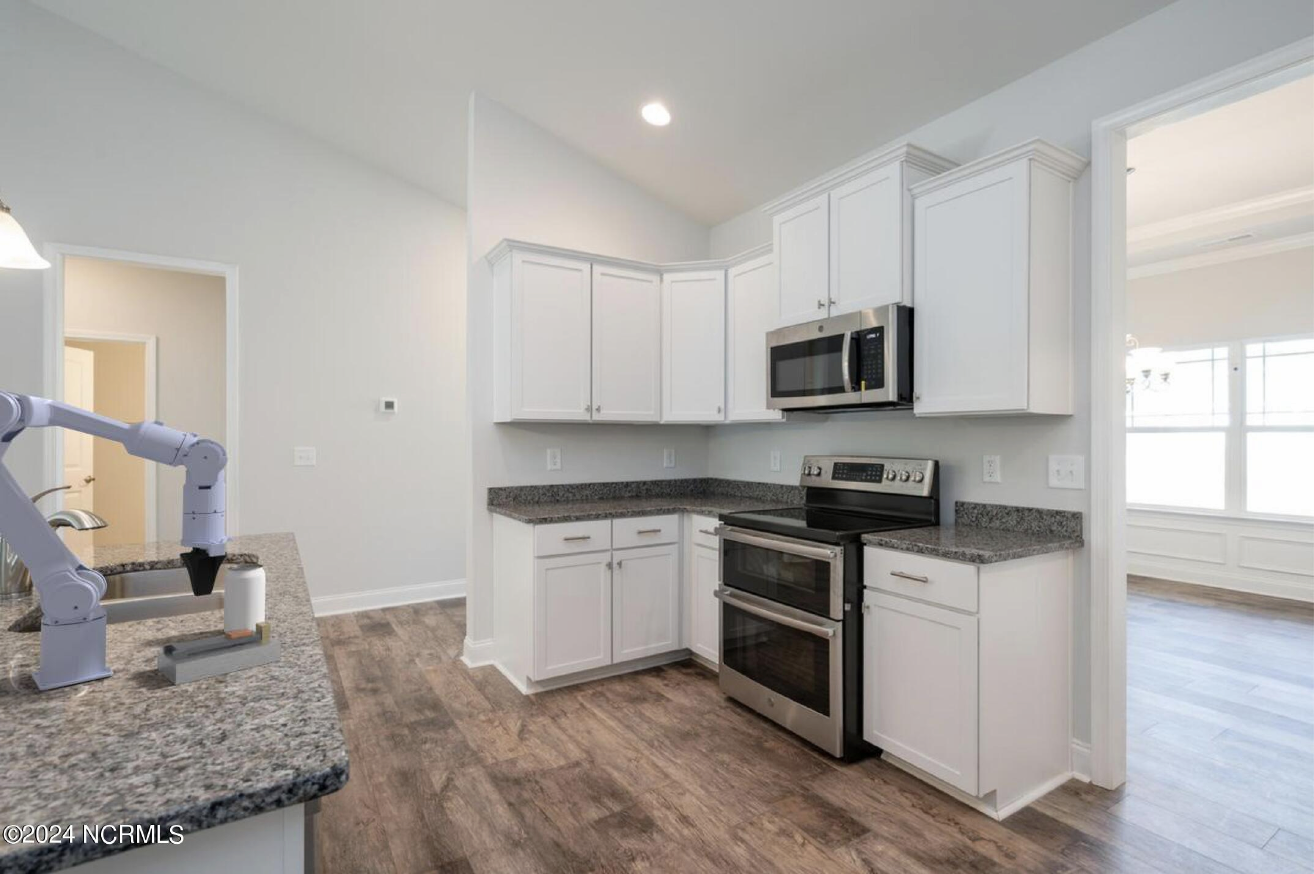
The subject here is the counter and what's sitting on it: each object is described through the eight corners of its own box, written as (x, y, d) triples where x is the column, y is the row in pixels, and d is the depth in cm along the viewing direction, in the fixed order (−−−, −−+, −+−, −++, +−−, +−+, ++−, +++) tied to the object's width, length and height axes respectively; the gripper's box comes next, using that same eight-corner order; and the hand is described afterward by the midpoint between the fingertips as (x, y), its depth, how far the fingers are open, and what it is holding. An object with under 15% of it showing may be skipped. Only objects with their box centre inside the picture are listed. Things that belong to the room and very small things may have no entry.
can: (249, 635, 115) (251, 570, 115) (215, 635, 115) (216, 569, 115) (272, 625, 122) (273, 563, 122) (239, 625, 122) (240, 563, 122)
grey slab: (171, 649, 97) (171, 640, 97) (251, 634, 105) (251, 626, 105) (178, 655, 94) (178, 646, 94) (260, 639, 103) (260, 630, 103)
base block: (157, 669, 98) (158, 635, 98) (258, 647, 109) (258, 617, 109) (175, 685, 91) (176, 649, 91) (280, 660, 102) (281, 628, 102)
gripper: (247, 513, 102) (246, 597, 102) (218, 507, 111) (216, 584, 111) (195, 517, 96) (193, 605, 96) (169, 510, 106) (167, 590, 105)
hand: (202, 594), depth 103 cm, fingers closed
